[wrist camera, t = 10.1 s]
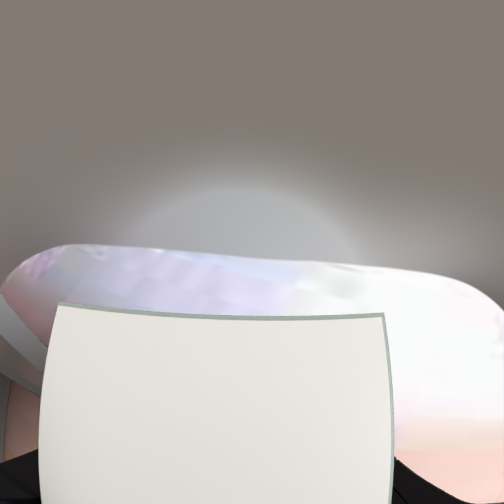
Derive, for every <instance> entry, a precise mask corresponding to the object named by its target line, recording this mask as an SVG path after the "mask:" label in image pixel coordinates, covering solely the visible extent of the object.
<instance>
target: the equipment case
mask: <svg viewBox="0 0 504 504" xmlns="http://www.w3.org/2000/svg"><path fill="white" fill-rule="evenodd" d="M47 351H48V348H47V347H46V346H45V345H44V344H43V343H42V342H41V341H40V340H39V339H38V338H37V337H36V336H35V335H34V333H33V332H32V331H31V330H30V329H29V328H28V327H27V326H26V324H25V323H24V322H23V321H22V320H21V319H20V317H19V316H18V315H17V314H16V313H15V311H14V310H13V309H12V308H11V307H10V305H9V304H8V303H7V301H6V300H5V299H4V298H3V296H2V295H1V294H0V463H2V462H4V436H5V423H6V413H7V405H8V397H9V391H10V385H11V380H13V381H15V382H16V383H18V384H19V385H21V386H23V387H24V388H26V389H28V390H29V391H31V392H33V393H35V394H37V395H38V396H40V397H41V391H42V383H43V376H44V369H45V362H46V357H47Z"/></svg>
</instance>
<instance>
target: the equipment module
mask: <svg viewBox="0 0 504 504" xmlns="http://www.w3.org/2000/svg"><path fill="white" fill-rule="evenodd" d="M38 465H39V483H40V494H41V503H42V504H391V500H392V488H393V471H394V406H393V388H392V375H391V364H390V355H389V346H388V338H387V330H386V323H385V316H384V313H369V314H349V315H320V316H233V315H204V314H183V313H167V312H152V311H139V310H128V309H117V308H107V307H98V306H89V305H80V304H72V303H65V302H59V303H58V306H57V310H56V314H55V318H54V322H53V327H52V331H51V336H50V341H49V346H48V351H47V357H46V362H45V369H44V376H43V383H42V391H41V401H40V413H39V432H38Z"/></svg>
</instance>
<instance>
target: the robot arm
mask: <svg viewBox="0 0 504 504" xmlns="http://www.w3.org/2000/svg"><path fill="white" fill-rule="evenodd" d="M0 504H42V503H41V494H40V483H39V465H38V449H36V450H34V451H32V452H29V453H27V454H24V455H21V456H19V457H16V458H13V459H11V460H8V461H5V462H2V463H0ZM391 504H473V503H468V502H465V501H462V500H460V499H457V498H456V497H454V496H452V495H450V494H448V493H446V492H445V491H443V490H441V489H439V488H438V487H436V486H434V485H433V484H431V483H429V482H428V481H426V480H425V479H423V478H422V477H420V476H418V475H417V474H416V473H414V472H413V471H412V470H410V469H409V468H408V467H407V466H405V465H404V464H403V463H402V462H400V461H399V460H396V457H394V471H393V488H392V500H391ZM488 504H504V502H502V503H488Z"/></svg>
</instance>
